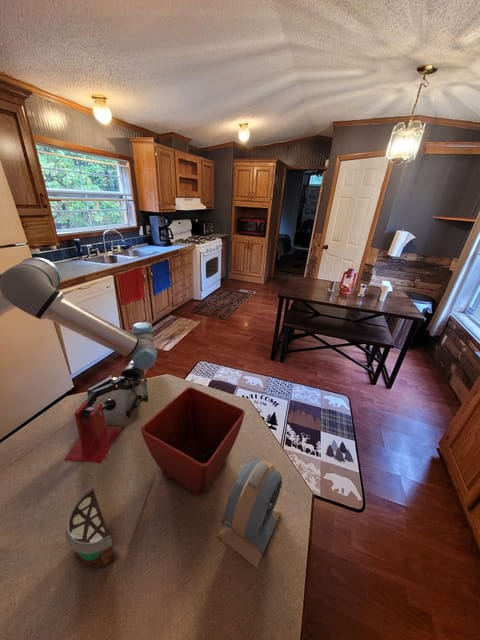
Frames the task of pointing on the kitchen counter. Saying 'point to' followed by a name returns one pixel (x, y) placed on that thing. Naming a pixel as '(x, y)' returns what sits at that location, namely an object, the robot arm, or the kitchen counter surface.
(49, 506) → the kitchen counter surface
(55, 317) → the robot arm
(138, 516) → the kitchen counter surface
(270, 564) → the kitchen counter surface
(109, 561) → the multicoloured piece
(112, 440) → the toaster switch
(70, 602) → the kitchen counter surface
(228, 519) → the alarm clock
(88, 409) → the lever
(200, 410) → the flower pot
